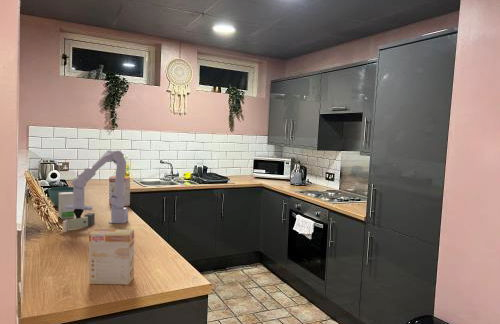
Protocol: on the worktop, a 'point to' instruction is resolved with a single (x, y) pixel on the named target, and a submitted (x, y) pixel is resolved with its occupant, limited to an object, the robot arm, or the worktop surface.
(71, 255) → the worktop surface
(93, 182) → the worktop surface
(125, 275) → the coffeecake box
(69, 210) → the skincare box
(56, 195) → the plant pot
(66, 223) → the wall frame
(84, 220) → the door
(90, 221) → the grey block
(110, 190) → the cracker box
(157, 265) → the worktop surface
